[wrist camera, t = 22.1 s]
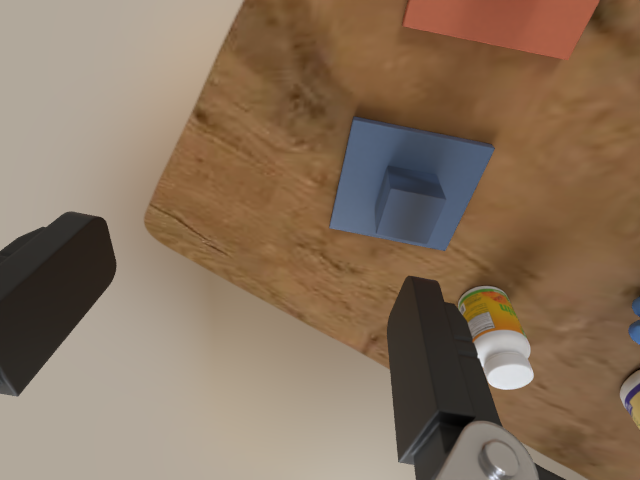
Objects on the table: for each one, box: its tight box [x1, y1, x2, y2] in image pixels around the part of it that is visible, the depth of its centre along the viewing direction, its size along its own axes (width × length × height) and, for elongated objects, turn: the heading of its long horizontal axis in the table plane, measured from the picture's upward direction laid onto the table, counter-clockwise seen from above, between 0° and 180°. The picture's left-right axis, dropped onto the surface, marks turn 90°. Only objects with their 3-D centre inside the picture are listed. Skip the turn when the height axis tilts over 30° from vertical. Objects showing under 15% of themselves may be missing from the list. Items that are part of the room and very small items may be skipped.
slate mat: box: [329, 117, 495, 251], centre depth 32 cm, size 12×11×1 cm
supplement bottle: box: [458, 286, 534, 390], centre depth 36 cm, size 5×5×10 cm
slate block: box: [375, 166, 446, 244], centre depth 30 cm, size 4×4×4 cm
